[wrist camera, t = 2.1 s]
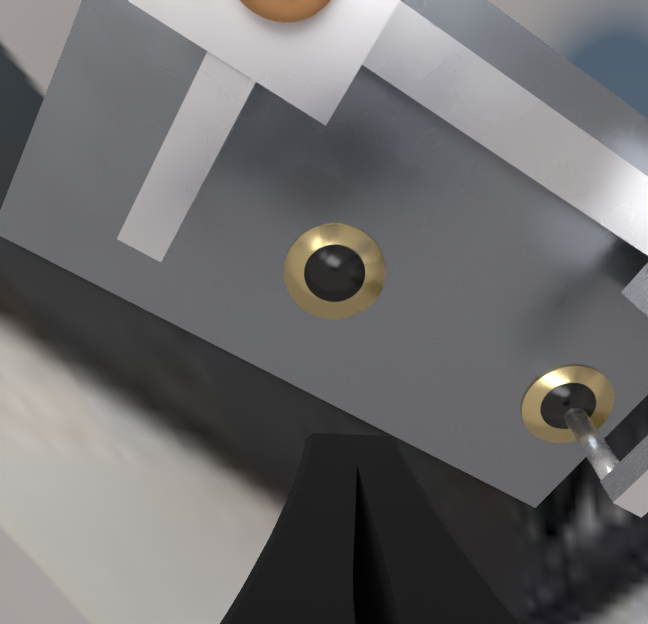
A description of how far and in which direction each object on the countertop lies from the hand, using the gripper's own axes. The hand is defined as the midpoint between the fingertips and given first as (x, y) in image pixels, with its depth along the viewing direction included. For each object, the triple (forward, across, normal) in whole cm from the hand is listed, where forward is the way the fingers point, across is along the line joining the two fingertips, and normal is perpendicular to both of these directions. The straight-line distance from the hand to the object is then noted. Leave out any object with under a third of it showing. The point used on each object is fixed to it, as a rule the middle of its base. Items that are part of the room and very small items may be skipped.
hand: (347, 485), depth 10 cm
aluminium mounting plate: (+10, -2, -1) cm, 10 cm away
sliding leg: (+9, +2, -6) cm, 11 cm away
